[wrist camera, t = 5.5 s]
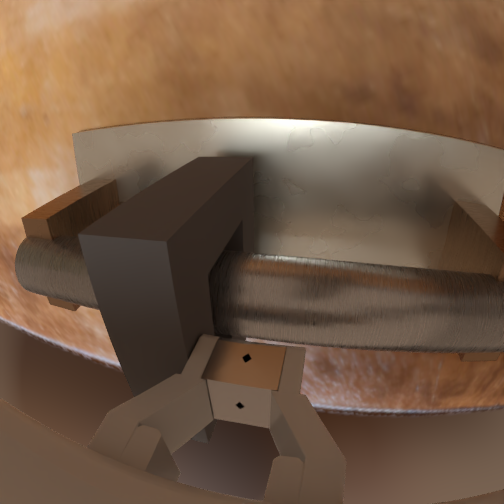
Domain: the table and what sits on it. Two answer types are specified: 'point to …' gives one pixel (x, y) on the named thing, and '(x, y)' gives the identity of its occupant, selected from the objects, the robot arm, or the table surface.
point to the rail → (311, 231)
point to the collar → (168, 264)
